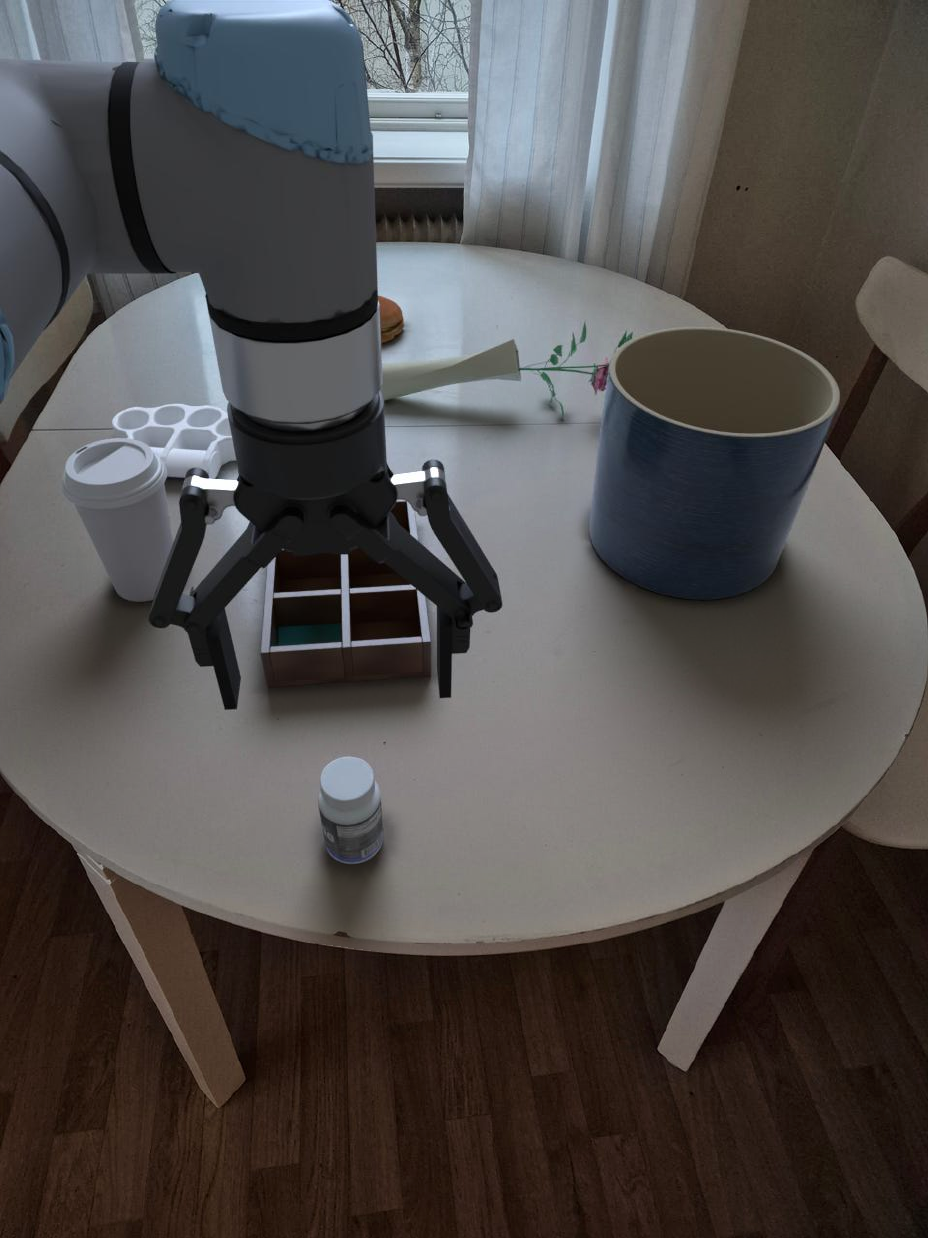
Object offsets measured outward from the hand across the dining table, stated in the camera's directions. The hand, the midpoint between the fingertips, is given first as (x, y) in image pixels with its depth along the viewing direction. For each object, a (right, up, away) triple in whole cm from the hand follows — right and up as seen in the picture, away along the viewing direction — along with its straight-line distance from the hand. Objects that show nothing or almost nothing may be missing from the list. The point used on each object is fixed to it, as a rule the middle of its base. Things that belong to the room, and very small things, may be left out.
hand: (339, 688), depth 56 cm
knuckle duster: (-27, +26, +53) cm, 65 cm away
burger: (-6, +49, +79) cm, 93 cm away
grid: (-4, +6, +33) cm, 34 cm away
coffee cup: (-25, +8, +35) cm, 44 cm away
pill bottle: (-1, -13, +13) cm, 19 cm away
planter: (+33, +13, +42) cm, 55 cm away
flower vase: (+13, +34, +63) cm, 73 cm away
